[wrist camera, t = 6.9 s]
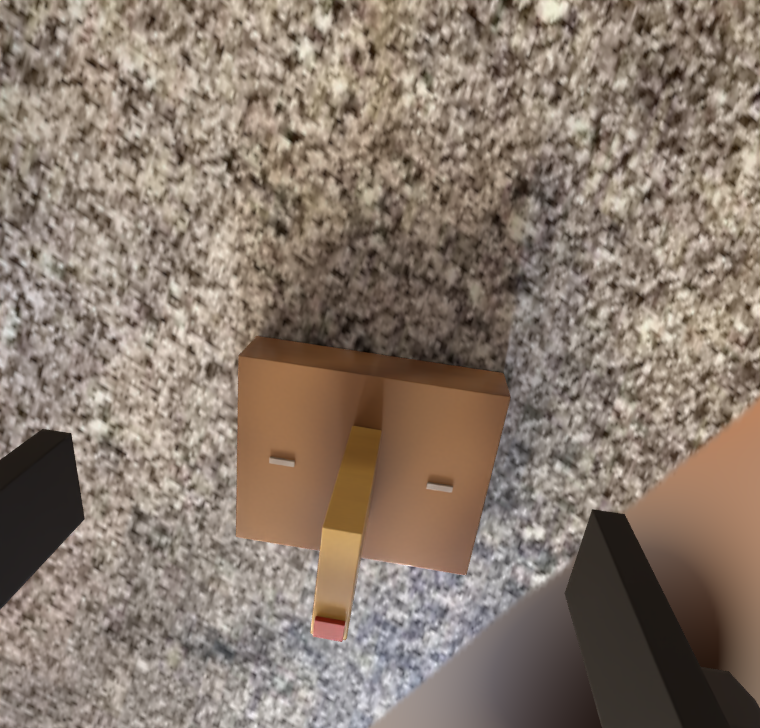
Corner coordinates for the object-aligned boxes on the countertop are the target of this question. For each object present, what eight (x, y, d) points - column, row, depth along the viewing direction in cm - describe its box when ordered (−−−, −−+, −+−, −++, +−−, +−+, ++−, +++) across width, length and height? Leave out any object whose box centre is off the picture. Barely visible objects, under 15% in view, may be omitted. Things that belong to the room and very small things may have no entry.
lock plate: (503, 372, 29) (511, 398, 26) (463, 540, 34) (466, 577, 31) (256, 335, 30) (237, 356, 27) (251, 505, 34) (234, 539, 32)
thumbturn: (352, 425, 28) (320, 530, 20) (382, 429, 28) (361, 538, 20) (340, 514, 30) (308, 639, 23) (367, 519, 30) (345, 646, 23)
